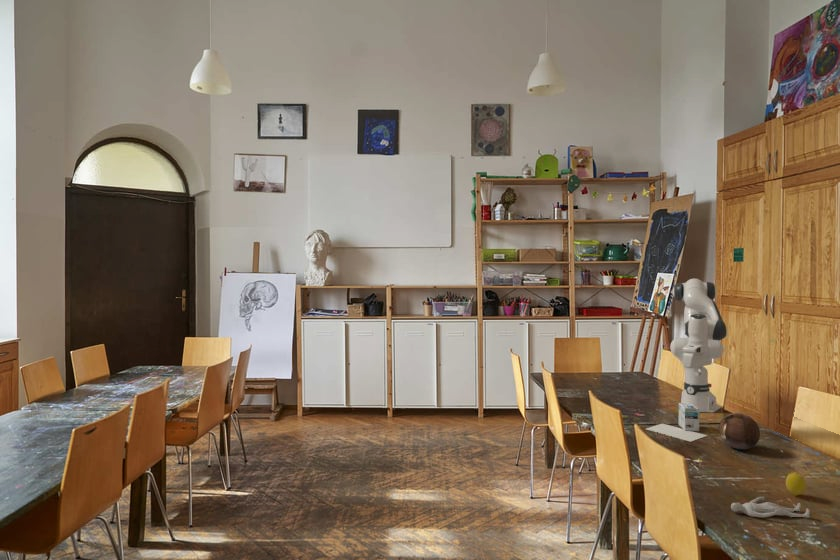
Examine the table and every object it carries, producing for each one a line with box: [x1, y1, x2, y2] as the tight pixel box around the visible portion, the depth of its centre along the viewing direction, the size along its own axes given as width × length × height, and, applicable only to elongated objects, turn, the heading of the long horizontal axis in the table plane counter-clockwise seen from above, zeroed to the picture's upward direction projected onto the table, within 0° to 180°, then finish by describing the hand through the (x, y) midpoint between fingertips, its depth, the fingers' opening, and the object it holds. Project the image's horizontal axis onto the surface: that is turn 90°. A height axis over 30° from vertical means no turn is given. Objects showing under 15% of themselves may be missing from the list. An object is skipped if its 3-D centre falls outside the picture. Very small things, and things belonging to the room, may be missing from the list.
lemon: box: [785, 472, 807, 497], centre depth 174 cm, size 6×6×8 cm
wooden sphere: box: [718, 412, 761, 450], centre depth 220 cm, size 15×15×15 cm
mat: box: [645, 423, 708, 443], centre depth 242 cm, size 14×22×1 cm, turn 34°
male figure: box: [730, 496, 811, 519], centre depth 162 cm, size 10×4×22 cm
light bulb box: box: [677, 402, 701, 432], centre depth 248 cm, size 11×7×11 cm, turn 168°
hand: (698, 375), depth 252 cm, fingers closed
